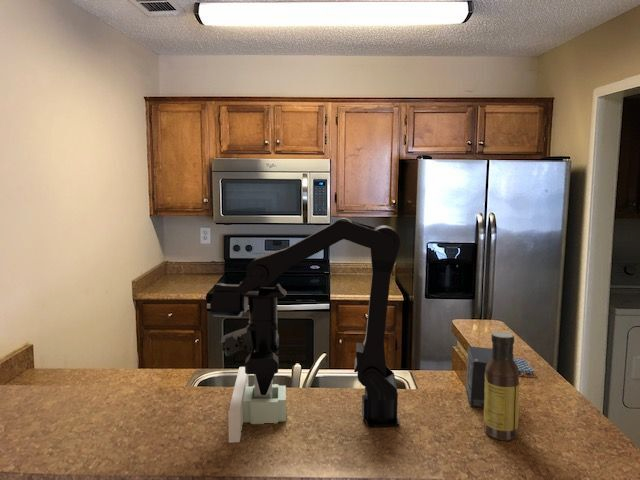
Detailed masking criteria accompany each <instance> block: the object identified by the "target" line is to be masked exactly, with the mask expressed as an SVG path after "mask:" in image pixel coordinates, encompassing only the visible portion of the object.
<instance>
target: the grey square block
mask: <svg viewBox="0 0 640 480" xmlns="http://www.w3.org/2000/svg"><path fill="white" fill-rule="evenodd" d="M253 375H254V376H253V377H254V379H253V380H254V381H253V383H254V384H253V385H254V395H255V399H272V396H273V382H274V380H273V379H274V378H273V379H272V381H271V384H270V386H269V389H268V391H267V394H266V395H261V393H260V390H259V386H258V382H257V378H256V374H253Z"/></svg>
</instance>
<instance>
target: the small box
mask: <svg viewBox="0 0 640 480" xmlns="http://www.w3.org/2000/svg"><path fill="white" fill-rule="evenodd" d="M491 358H492V347H490V348H489V347H481V346H470V345H469V346H468V345H467V363H466V379H465V392H466V395H467V400H468V404H469V407H470V408H479V409H484V386H485V369H486V364H487V363H488V362H489V360H490V359H491Z"/></svg>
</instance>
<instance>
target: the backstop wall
mask: <svg viewBox="0 0 640 480" xmlns="http://www.w3.org/2000/svg"><path fill="white" fill-rule="evenodd" d="M248 386H249V374H246V373H245V366H239V368H238V372H237V375H236V380H235V383H234V387H233V391H232V396H231V399H230V404H229V407H228V412H227V413H228V418H227V419H228V443H231V444H232V443H240V441H241V436H242V432H241V431H243V430H242V429H243V426H242V425H244V422H243V398H244V393H245V388H246V387H248Z"/></svg>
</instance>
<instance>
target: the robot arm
mask: <svg viewBox="0 0 640 480" xmlns="http://www.w3.org/2000/svg"><path fill="white" fill-rule="evenodd" d="M342 240H343V241H344V240H345V241H348V242H350V243H351V242H352V243H354V244H356V245H359V246H362V247H365V248H368V249H370V260H371V261H370V262H371V281H370V289H369V290H370V291H369V298H368V300H369V301H368V310H367V320H366V330H365V338H364V339H363V343H360V342H356V343H355V344H356V346H355V347H356V348H355V349H356V351H355V354H356V356H355V358H354V368H353V369H354V370H353V372H354V373H357V380H358V382H359V383H360V384H361V386H363V387H364V394H362V395H361V416H362V418H363V420H364V421H365V423H366V426H367V427H370V428H371V427H372V428H374V427H398V426H400V421H399V419H398V404H399V403H398V399H399V397H398V394H399V392H398V388H397V382H396V376H395V373H394V371H393V370H391V369H390V367H388V365H387V364H386V352H385V343H384V342H385V335H386V326H387V325H386V323H387V317H388V316H387V313H388V305H389V304H388V303H389V295H390V286H391V276H392V273H393V270H394V268H395V267H394V266H395V263H396V262H397V257H398V254H399V251H400V247H401V238H400V236H399V234H398V233H397V232H396V231H395V229H394V228H393V227H392V226H390V225H379V226H377V227H376V226H373V225H370V224H365V223H361V222H358V221H353V220H350V219H349V218H347V217H341V218H338V219H337V220H336V221H335V222H333V223H331V224H330V225H327V226H326V227H324V228H322V229H320V230H318V231H317V232H314V233H313V234H310V235H309V236H306V237H305V238H303V239H302V240H299V241H297V242H296V243H293V244H291V245H290V246H288V247H286V248H285V247H284V248H283V249H280V250H279V249H278V250H275V251H272V252H269V253H266V254H263V255H260V256H258V257H257V258H255V259H253V260H251V262H249V263H248V264H247V267H246V270H245V275H246V276H245V277H244V278H243V280H242V281H240V282H239V284H236V283H235V284H231V283H228V284H227V283H222V282H217V283H216V284H214V285H213V292H212V294H211V301H210V303H209V307H210V309H209V310H210V313H211V316H213V317H220V318H221V317H223V318H226V317H227V318H241V317H242V316H243V313H247V312H248V317H249V318H248V319H249V320H248V322H247V326H246V327H244V328H241V329H237V330H234V331H231V332H230V333H226V334H224V335H223V336H222V337H221V339H220V345H221V350H222V352H224V355H225V356H227V357H229V356H232V355H233V354H235V353H237V352H240V351H243V350H245V349H246V352H250V353H249V354H248V356H246V359H245V361H244V367H245V373H246V374H248V375H254V374H256V378H257V382H258V386H259V390H260V393H261V395H266V394H267V391H268V389H269V386H270V384H271V381H272V379H274V377H275V375H276V374H278V373H279V349H278V347H279V346H280V334H279V333H278V299H281V298H285V297H286V295H287V290H286V289H284V288H283V287H282V286H281V284H280V283H277V284H276V286H275V287H268V286H270V285H271V284H272V283H273V282H274V281H276V280H277V279H278V278H280V277H281V276H282V275H283V274H285V273H286V272H287V271H288V270H289V269H291V268H292V267H294V265H296V264H299V263H301V262H302V261H304V260H306V259H308V258H310V257H312V256H314V255H316V254H318V253H320V252H321V251H323V250H325V249H327V248H329V247H331V246H333V245H334V244H337V243H339V242H340V241H342ZM255 288H259V289H258V290H253V289H255Z"/></svg>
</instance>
